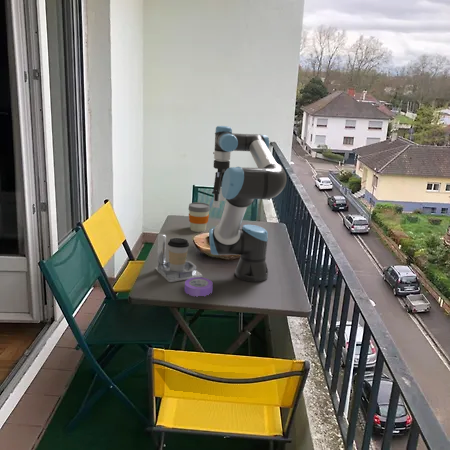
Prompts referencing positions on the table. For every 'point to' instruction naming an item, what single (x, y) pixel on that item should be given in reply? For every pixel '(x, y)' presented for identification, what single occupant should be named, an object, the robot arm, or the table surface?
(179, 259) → the coffee cup
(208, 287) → the masking tape
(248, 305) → the table surface
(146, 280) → the table surface
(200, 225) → the reusable coffee cup
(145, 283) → the table surface
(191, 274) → the ring base with post
